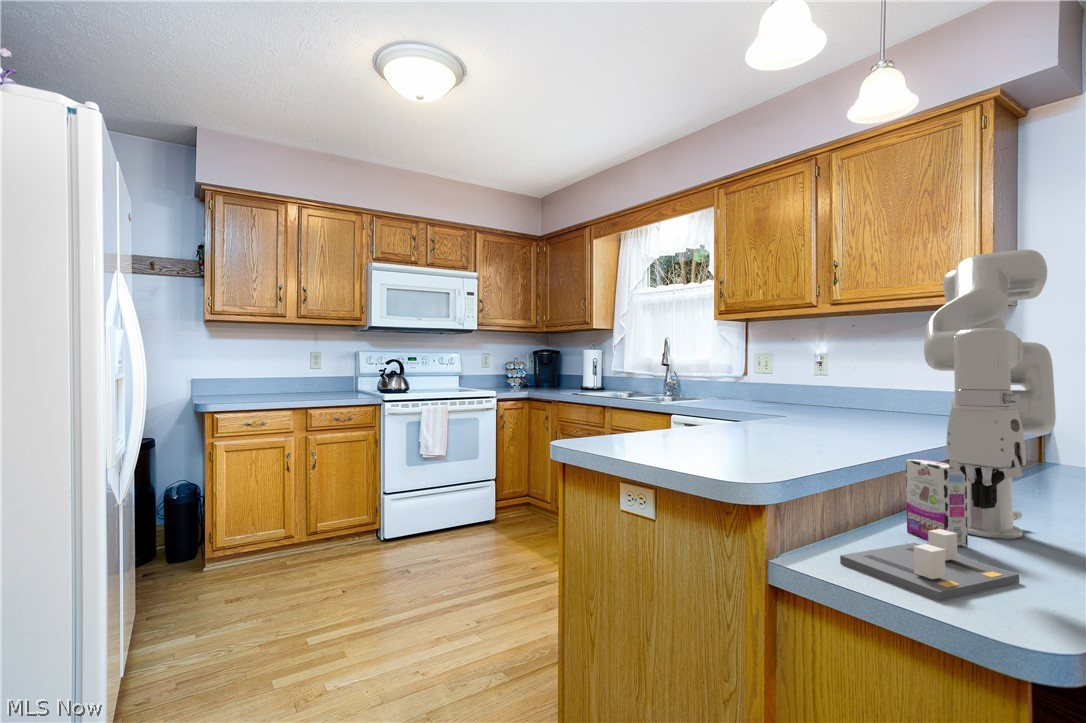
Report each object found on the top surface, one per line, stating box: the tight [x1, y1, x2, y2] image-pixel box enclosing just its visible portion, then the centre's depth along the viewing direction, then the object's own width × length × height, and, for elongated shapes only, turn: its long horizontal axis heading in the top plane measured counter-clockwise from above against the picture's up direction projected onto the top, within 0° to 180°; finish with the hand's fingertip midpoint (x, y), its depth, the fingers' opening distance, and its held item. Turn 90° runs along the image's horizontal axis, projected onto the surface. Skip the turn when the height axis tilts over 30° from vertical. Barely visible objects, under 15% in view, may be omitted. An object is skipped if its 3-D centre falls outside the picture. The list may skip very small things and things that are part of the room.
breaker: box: [914, 543, 945, 579], centre depth 91 cm, size 3×3×4 cm
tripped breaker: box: [927, 529, 959, 560], centre depth 99 cm, size 3×3×4 cm
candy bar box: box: [905, 458, 969, 548], centre depth 115 cm, size 11×5×16 cm, turn 5°
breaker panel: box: [839, 542, 1020, 602], centre depth 97 cm, size 20×18×2 cm
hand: (984, 506), depth 93 cm, fingers closed
